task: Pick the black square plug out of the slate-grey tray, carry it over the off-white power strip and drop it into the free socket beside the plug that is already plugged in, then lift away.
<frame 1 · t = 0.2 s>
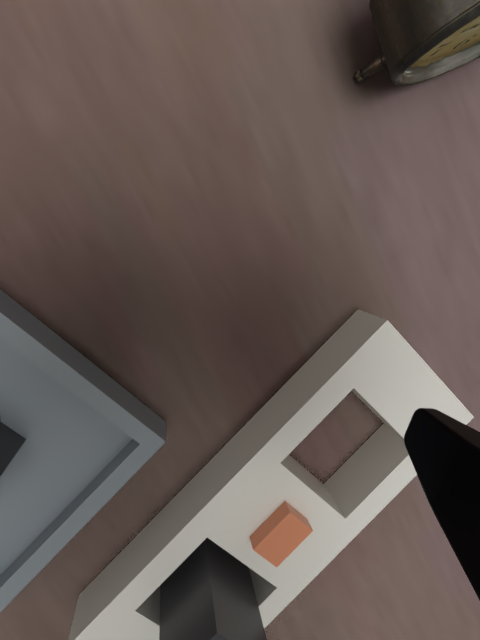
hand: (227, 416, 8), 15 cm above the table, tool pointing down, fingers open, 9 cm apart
twin plug: (202, 553, 27), resting in power strip
alarm clock: (413, 35, 23), on the table
power strip: (264, 491, 27), on the table
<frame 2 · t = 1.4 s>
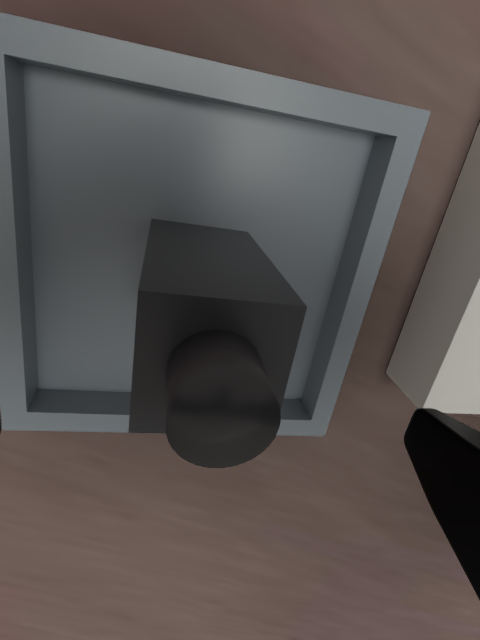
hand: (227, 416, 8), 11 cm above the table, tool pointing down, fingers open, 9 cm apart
tray: (193, 265, 18), on the table
plug: (195, 271, 17), point 1 cm above the table, touching tray
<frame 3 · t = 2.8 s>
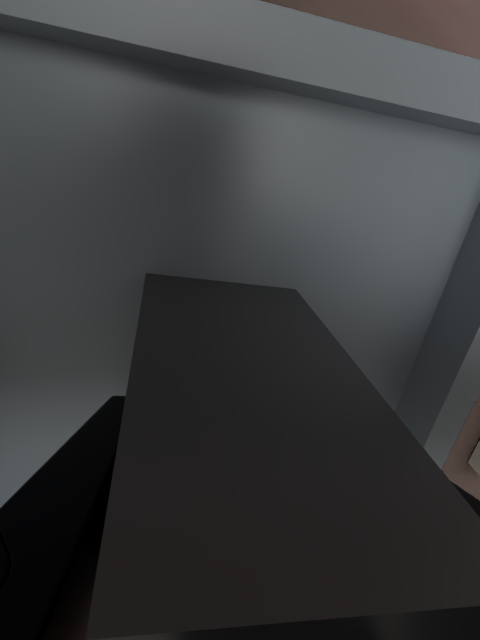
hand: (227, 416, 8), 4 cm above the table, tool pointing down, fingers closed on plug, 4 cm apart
tray: (210, 334, 12), on the table
plug: (213, 347, 11), point 1 cm above the table, touching gripper, tray
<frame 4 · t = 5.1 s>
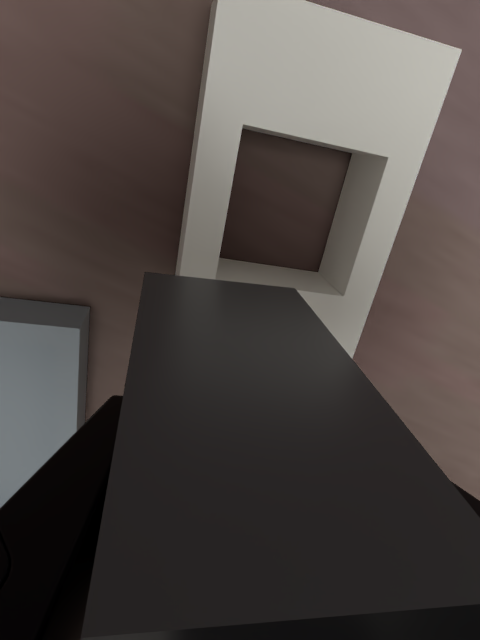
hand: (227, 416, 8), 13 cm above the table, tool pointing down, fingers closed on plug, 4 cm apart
plug: (212, 347, 11), point 10 cm above the table, touching gripper
power strip: (253, 316, 22), on the table
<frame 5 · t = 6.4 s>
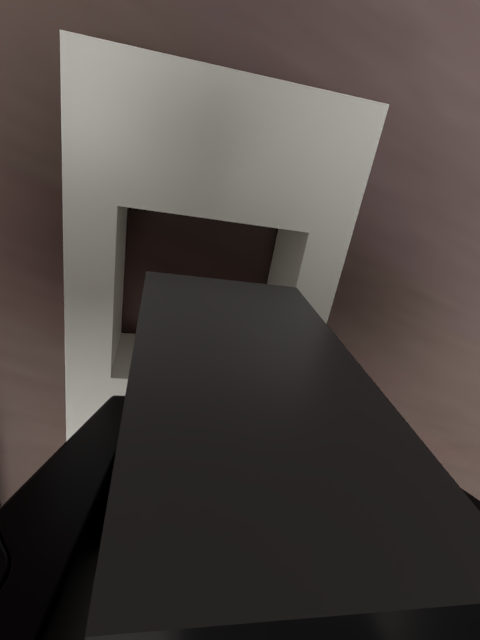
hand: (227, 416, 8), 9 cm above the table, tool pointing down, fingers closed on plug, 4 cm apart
plug: (213, 346, 11), point 6 cm above the table, touching gripper
power strip: (183, 392, 19), on the table
when the fingers open (4 cm above the table, at t = 7.7 s): plug drops 2 cm, resting in power strip.
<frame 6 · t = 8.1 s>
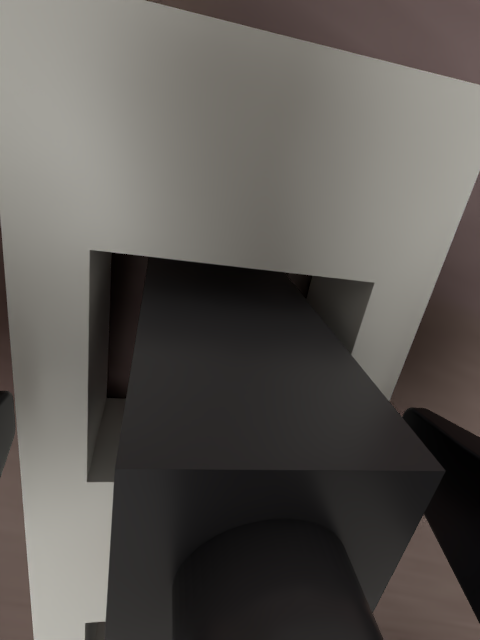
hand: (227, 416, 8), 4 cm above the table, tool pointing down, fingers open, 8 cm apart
plug: (208, 323, 12), resting in power strip
power strip: (187, 466, 15), on the table
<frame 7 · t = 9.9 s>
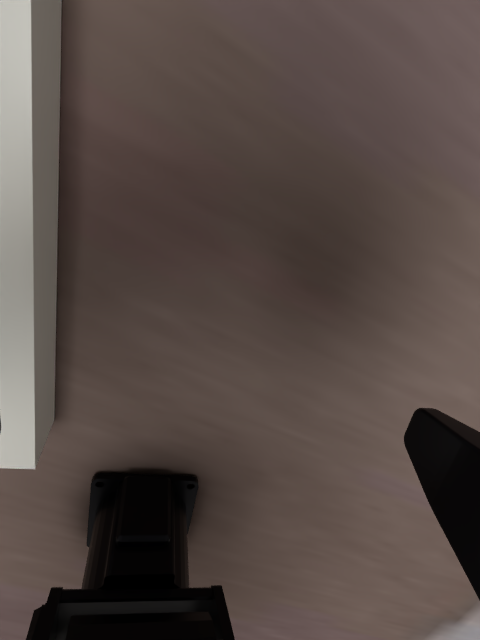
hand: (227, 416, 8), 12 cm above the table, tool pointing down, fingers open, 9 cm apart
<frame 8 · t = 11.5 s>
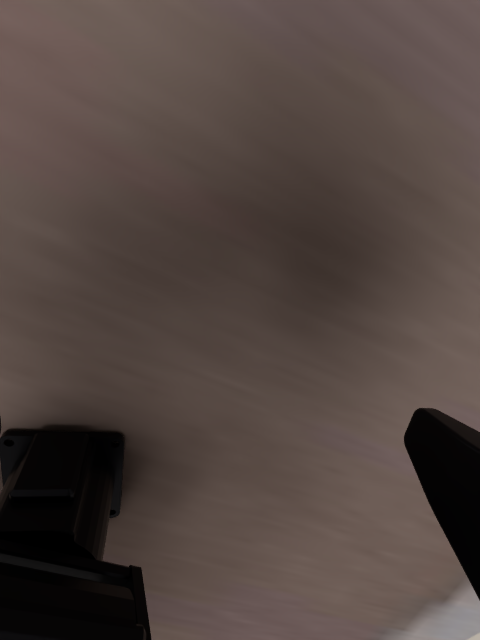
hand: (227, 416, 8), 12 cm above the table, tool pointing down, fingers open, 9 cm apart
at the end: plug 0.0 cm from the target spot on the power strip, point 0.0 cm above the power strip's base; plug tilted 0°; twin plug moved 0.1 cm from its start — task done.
